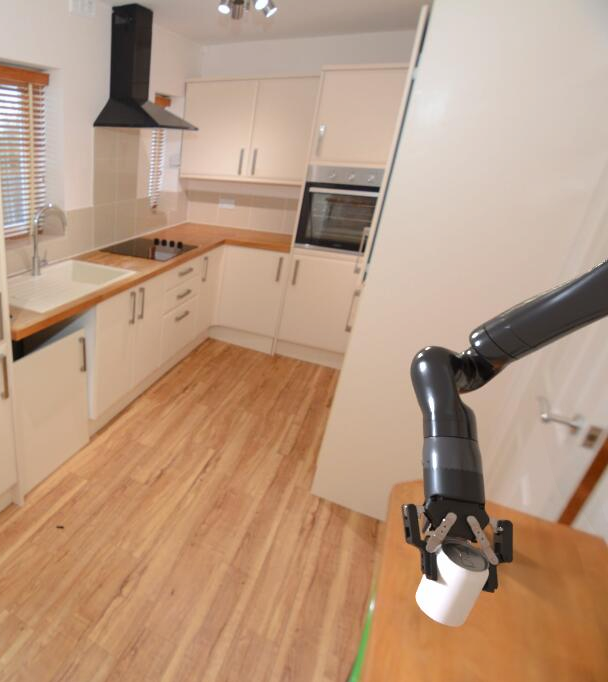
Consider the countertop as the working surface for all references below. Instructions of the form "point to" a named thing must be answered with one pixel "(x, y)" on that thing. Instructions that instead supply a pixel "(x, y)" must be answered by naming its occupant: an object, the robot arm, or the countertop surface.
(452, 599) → the can
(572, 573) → the countertop surface
